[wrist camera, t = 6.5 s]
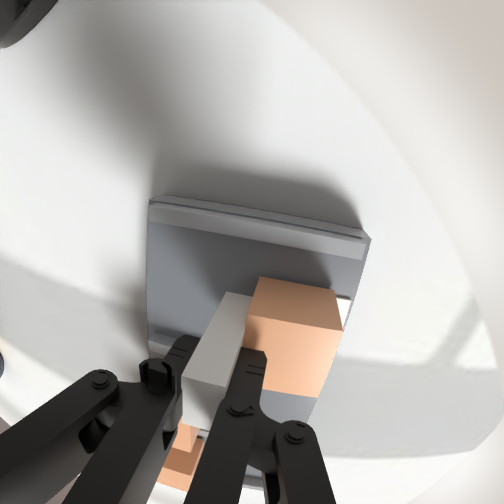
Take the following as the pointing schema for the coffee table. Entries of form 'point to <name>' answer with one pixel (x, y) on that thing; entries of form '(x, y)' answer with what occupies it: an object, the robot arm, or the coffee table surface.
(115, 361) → the coffee table surface
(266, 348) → the tab
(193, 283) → the switch bank
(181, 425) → the peach cube
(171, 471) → the tan cube
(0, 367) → the paintbrush
